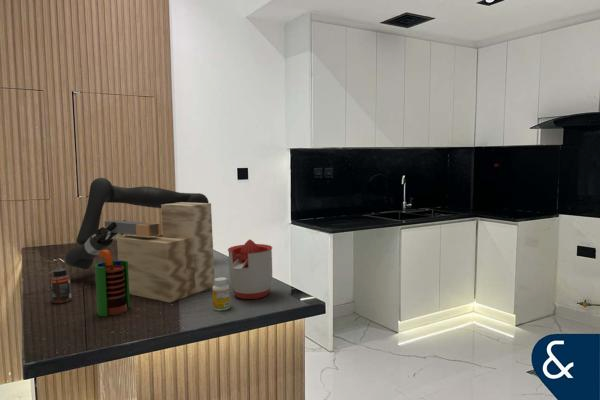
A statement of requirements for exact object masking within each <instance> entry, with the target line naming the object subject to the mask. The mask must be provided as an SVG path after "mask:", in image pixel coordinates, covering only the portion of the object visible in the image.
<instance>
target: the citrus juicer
mask: <svg viewBox="0 0 600 400" xmlns="http://www.w3.org/2000/svg"><path fill="white" fill-rule="evenodd" d="M272 249H273V246H272V245H269V244H263V243H262V244H261V243H255V241H253V240H252V239H248V240H246V242H245V243H244V244H239V245H234V246H230V247H229V248H227V251H228V266H229V267H228V269H229V270H228V271H229V280H230V285H231V288H232V291H233V293H234V295H235V297H236V298H239V299H243V300H245V299H246V300H258V299H261V298H263V297H266V296H267V295H269V292H270V289H271V285H272V282H273V281H272V280H273V257H272V256H273V252H272Z"/></svg>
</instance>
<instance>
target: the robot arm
mask: <svg viewBox="0 0 600 400" xmlns="http://www.w3.org/2000/svg"><path fill="white" fill-rule="evenodd" d="M87 200H88V201H87V204H86V208H85V213H84V216H83V219H82V221H81V224H80V228H79V231H78V235H77V237H76V239H75V243H76V244H78V245H77V246H76V247H73V248H71V249H70V250H68V252H66V254H65V258H64V261H65V264H66V265H68V266H69V267H74V268H78V269H82V270H88V269H90V268H91V267H92V266H93V263H94V258H96V257H97V256H99V251H101V250H107V248H108V247H110V246H111V245H112V244H113V241H114V239H115V238H117V237H118V235H121V236H123V235H124V234H122V233H113V232H111V231H112V230H113V229H114V228H116V223H115V222H112V223H111V224H110V225H109V226H106V227H105V226H104V227H103V226H102V227H100V223H101V215H102V210H103V207H104V205H105V203H107V204H108V203H113V204H114V203H115V204H126V205H127V204H128V205H133V206H139V207H144V208H145V207H146V208H154V209H161V205H163V204H171V203H179V202H189V203H210V202H209V199H208V197H207V196H206V195H205V194H203V193H199V192H197V193H195V192H194V193H193V192H192V193H191V192H179V191H174V190H170V189H166V188H159V187H153V186H143V185H142V186H136V187H135V186H134V187H122V186H117V185H113V184H112V182H111V181H110V180H109V179H107V178H104V177H98V178H96V179H94V180H93V181H92V182H91V183H90V186H89V193H88V199H87ZM122 221H126V220H123V219H122Z"/></svg>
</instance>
